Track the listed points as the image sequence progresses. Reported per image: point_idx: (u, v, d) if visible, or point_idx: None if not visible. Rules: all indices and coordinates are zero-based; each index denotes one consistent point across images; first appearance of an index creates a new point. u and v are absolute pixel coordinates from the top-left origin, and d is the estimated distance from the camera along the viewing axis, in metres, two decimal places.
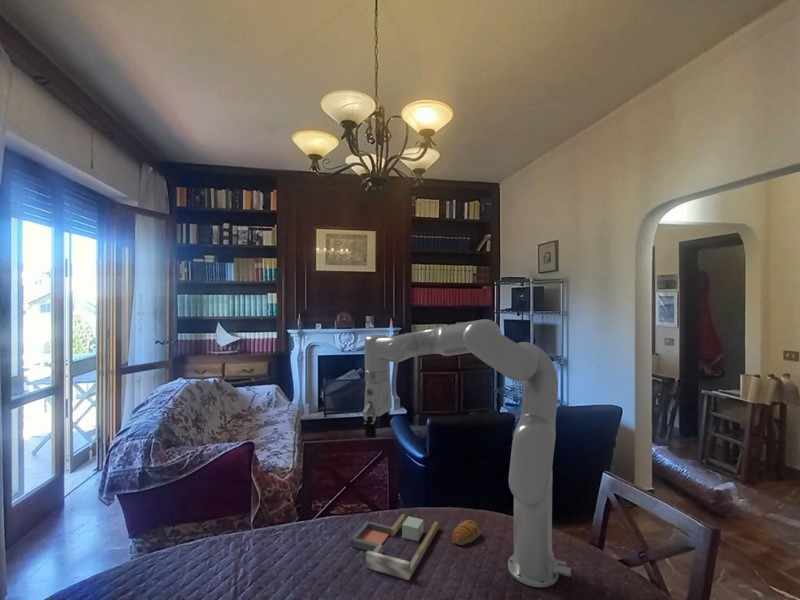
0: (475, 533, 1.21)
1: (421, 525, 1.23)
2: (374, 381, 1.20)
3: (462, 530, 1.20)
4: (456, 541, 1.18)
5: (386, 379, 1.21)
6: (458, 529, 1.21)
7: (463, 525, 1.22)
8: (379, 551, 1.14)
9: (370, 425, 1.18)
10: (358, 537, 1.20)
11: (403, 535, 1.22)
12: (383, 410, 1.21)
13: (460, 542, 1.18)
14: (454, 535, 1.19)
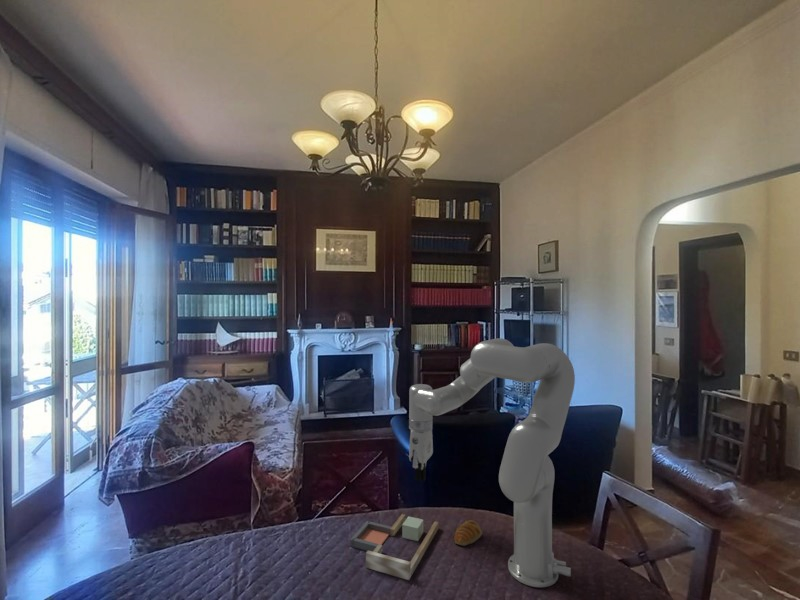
0: (477, 533, 1.21)
1: (421, 525, 1.23)
2: (419, 430, 1.27)
3: (464, 530, 1.20)
4: (459, 542, 1.17)
5: (430, 428, 1.28)
6: (460, 530, 1.21)
7: (465, 525, 1.22)
8: (379, 551, 1.14)
9: (420, 470, 1.29)
10: (358, 537, 1.20)
11: (403, 535, 1.22)
12: (426, 457, 1.28)
13: (462, 543, 1.17)
14: (457, 536, 1.19)
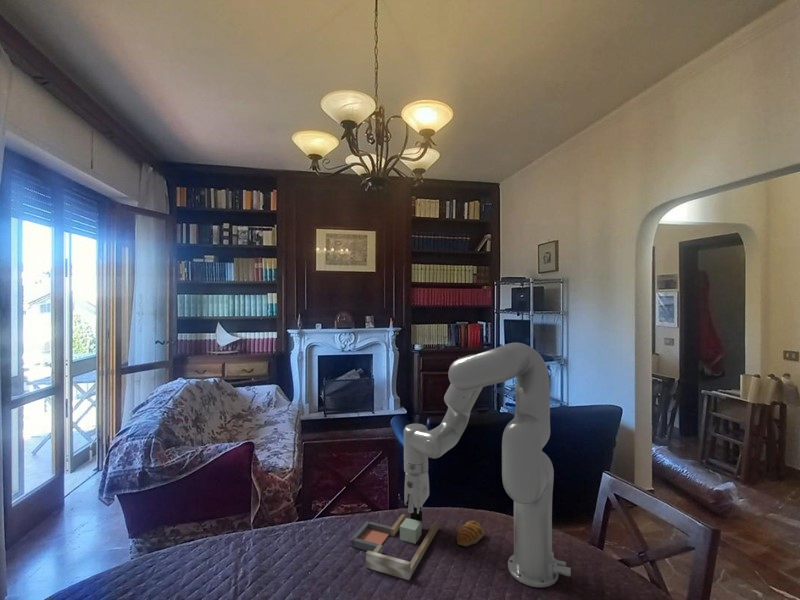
0: (480, 533, 1.20)
1: (419, 527, 1.22)
2: (414, 473, 1.22)
3: (467, 531, 1.20)
4: (461, 542, 1.17)
5: (425, 470, 1.24)
6: (462, 530, 1.21)
7: (467, 526, 1.22)
8: (379, 551, 1.14)
9: (416, 514, 1.25)
10: (358, 537, 1.20)
11: (401, 537, 1.21)
12: (422, 501, 1.23)
13: (465, 544, 1.17)
14: (459, 537, 1.19)
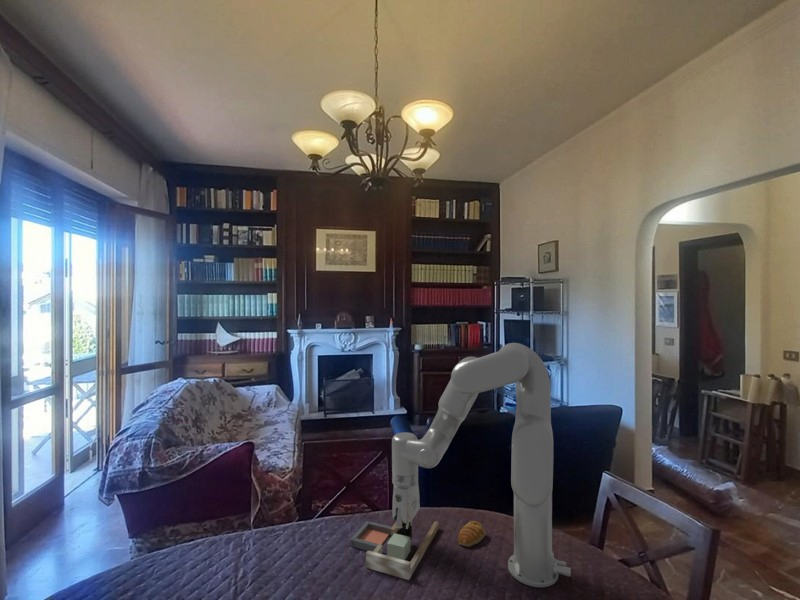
0: (481, 534, 1.20)
1: (408, 543, 1.14)
2: (403, 486, 1.14)
3: (468, 531, 1.20)
4: (463, 543, 1.17)
5: (415, 483, 1.16)
6: (464, 531, 1.20)
7: (469, 526, 1.22)
8: (379, 551, 1.14)
9: (405, 529, 1.17)
10: (358, 537, 1.20)
11: (388, 554, 1.13)
12: (411, 515, 1.15)
13: (467, 544, 1.17)
14: (461, 537, 1.18)
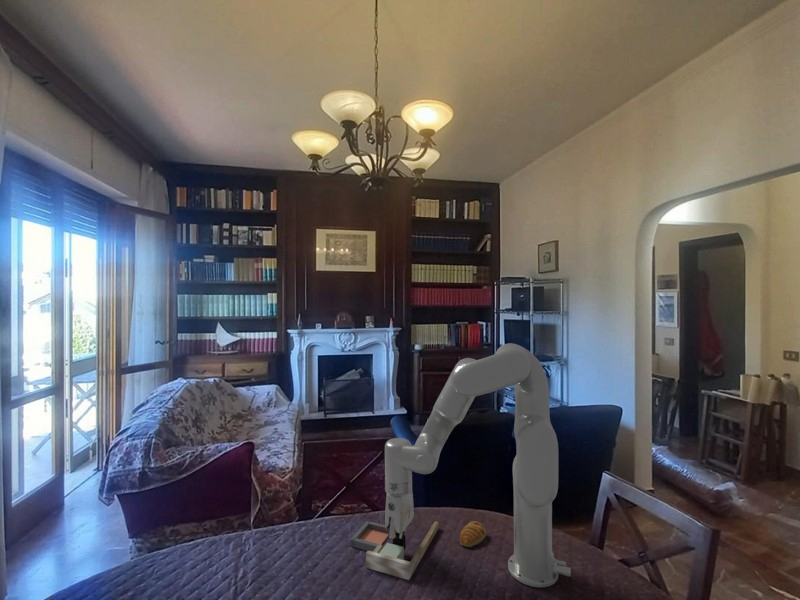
0: (482, 534, 1.20)
1: (401, 554, 1.09)
2: (396, 494, 1.10)
3: (469, 532, 1.20)
4: (465, 543, 1.17)
5: (409, 490, 1.11)
6: (465, 531, 1.20)
7: (470, 527, 1.21)
8: (379, 551, 1.14)
9: (398, 539, 1.12)
10: (358, 537, 1.20)
11: None
12: (405, 525, 1.11)
13: (468, 545, 1.16)
14: (462, 537, 1.18)
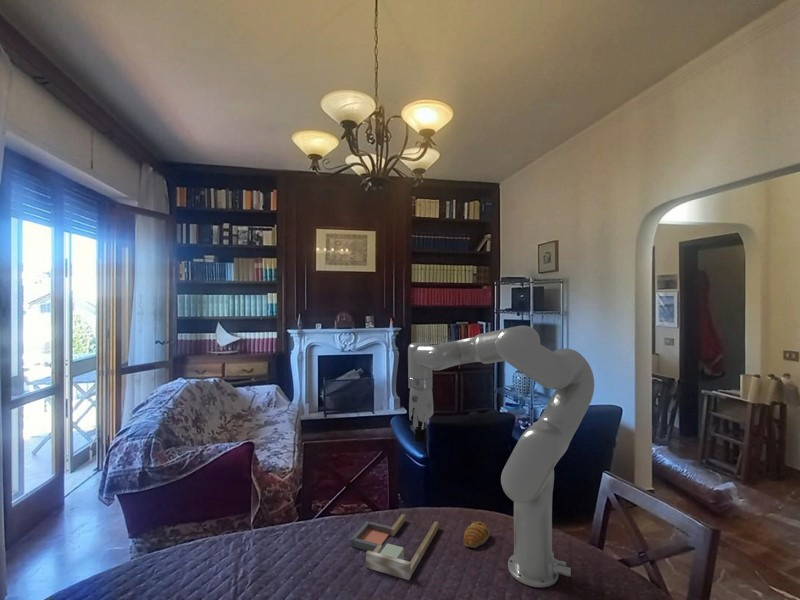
0: (486, 534, 1.20)
1: (401, 554, 1.09)
2: (418, 388, 1.23)
3: (473, 532, 1.19)
4: (469, 544, 1.16)
5: (430, 386, 1.24)
6: (469, 532, 1.20)
7: (473, 527, 1.21)
8: (379, 551, 1.14)
9: (420, 430, 1.25)
10: (358, 537, 1.20)
11: None
12: (427, 416, 1.24)
13: (473, 545, 1.16)
14: (467, 538, 1.18)
